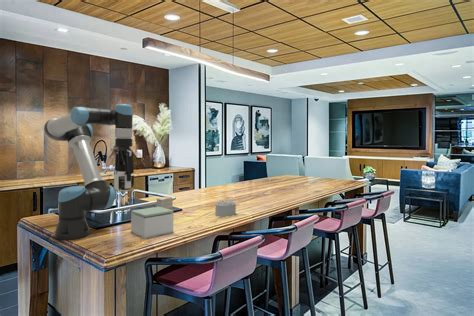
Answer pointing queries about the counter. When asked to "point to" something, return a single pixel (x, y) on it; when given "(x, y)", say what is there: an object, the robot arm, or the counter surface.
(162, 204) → the supplement box
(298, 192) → the counter surface
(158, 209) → the lid
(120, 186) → the medicine bottle
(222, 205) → the lumpy-topped squat cylinder
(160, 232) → the storage box
